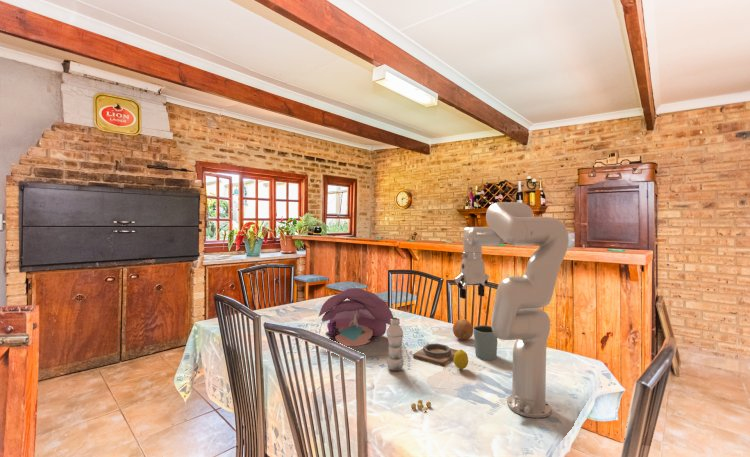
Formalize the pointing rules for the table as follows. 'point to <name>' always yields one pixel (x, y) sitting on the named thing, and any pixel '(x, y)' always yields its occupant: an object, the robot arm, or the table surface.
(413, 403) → the dice set
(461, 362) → the lemon
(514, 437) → the table surface
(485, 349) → the grey cup
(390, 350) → the plastic bottle
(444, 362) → the holder
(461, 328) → the onion
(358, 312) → the purple shell playhouse
